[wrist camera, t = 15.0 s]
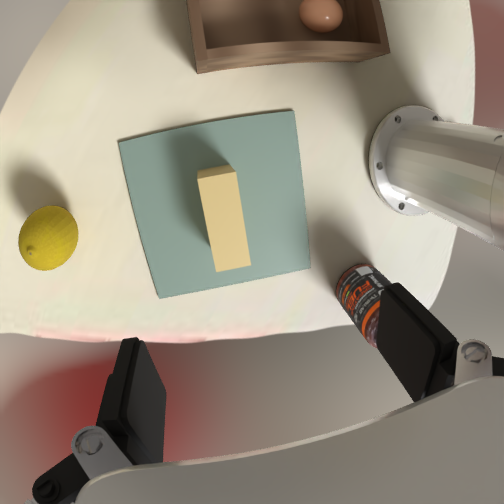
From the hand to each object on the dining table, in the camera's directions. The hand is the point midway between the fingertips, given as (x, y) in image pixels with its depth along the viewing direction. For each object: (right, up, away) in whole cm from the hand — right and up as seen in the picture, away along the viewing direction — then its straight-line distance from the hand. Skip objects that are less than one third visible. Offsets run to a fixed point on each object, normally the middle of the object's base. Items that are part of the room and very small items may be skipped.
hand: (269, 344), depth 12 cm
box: (+1, +28, +11) cm, 30 cm away
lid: (-4, +8, +19) cm, 21 cm away
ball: (+5, +25, +12) cm, 29 cm away
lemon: (-20, +6, +17) cm, 26 cm away
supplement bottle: (+12, 0, +25) cm, 28 cm away
